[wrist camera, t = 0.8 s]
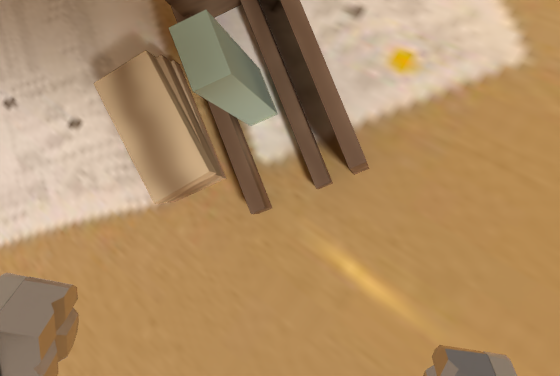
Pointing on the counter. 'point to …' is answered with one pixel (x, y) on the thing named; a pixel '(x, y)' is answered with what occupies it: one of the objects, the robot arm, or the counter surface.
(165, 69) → the teak offcut middle
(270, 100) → the sage foam brick
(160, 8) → the counter surface
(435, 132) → the counter surface
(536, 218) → the counter surface
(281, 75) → the walnut rack
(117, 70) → the ash offcut top
